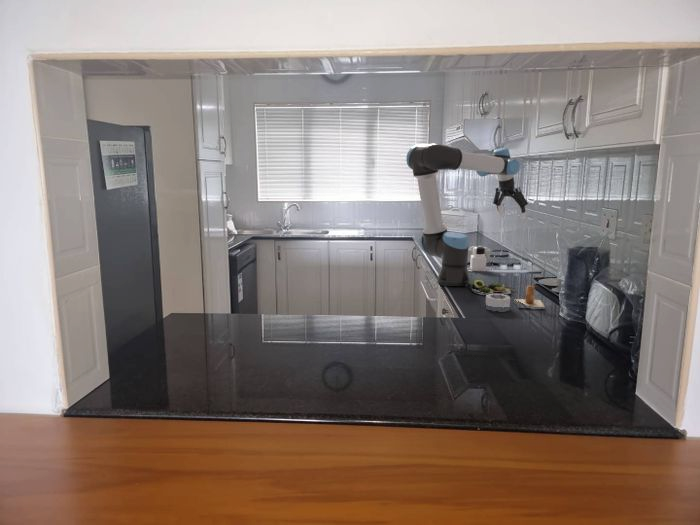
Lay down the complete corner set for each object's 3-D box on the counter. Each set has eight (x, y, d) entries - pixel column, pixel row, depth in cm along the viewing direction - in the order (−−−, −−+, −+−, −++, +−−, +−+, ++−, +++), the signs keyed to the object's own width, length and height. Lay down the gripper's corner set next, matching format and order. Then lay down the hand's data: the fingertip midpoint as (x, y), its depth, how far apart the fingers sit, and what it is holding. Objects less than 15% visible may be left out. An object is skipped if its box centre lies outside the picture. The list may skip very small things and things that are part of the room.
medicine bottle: (483, 268, 269) (484, 246, 266) (485, 271, 262) (487, 248, 259) (469, 268, 269) (471, 245, 267) (471, 270, 262) (473, 248, 260)
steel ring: (486, 311, 193) (487, 299, 192) (484, 305, 202) (485, 293, 201) (510, 313, 192) (511, 300, 190) (507, 306, 200) (508, 294, 199)
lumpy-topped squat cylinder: (486, 264, 278) (487, 249, 276) (463, 262, 284) (463, 247, 283) (491, 261, 287) (492, 246, 285) (468, 259, 293) (469, 244, 291)
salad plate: (511, 287, 231) (511, 277, 230) (520, 298, 213) (520, 287, 212) (467, 286, 232) (468, 276, 232) (473, 296, 215) (474, 286, 214)
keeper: (517, 308, 197) (519, 288, 195) (514, 301, 207) (515, 282, 205) (544, 310, 195) (546, 290, 194) (540, 302, 205) (541, 283, 203)
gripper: (531, 176, 248) (537, 216, 256) (491, 176, 269) (498, 213, 276) (521, 181, 245) (527, 222, 252) (482, 180, 265) (489, 218, 273)
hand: (512, 217), depth 264 cm, fingers open, 13 cm apart
